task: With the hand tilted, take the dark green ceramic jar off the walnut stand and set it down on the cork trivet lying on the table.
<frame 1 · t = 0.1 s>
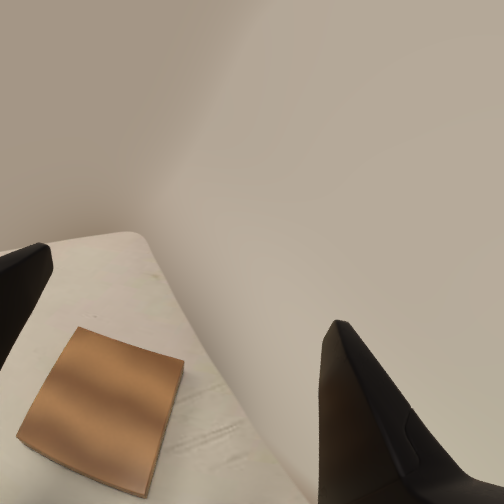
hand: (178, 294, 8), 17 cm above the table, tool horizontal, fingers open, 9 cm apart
trivet: (104, 409, 19), on the table
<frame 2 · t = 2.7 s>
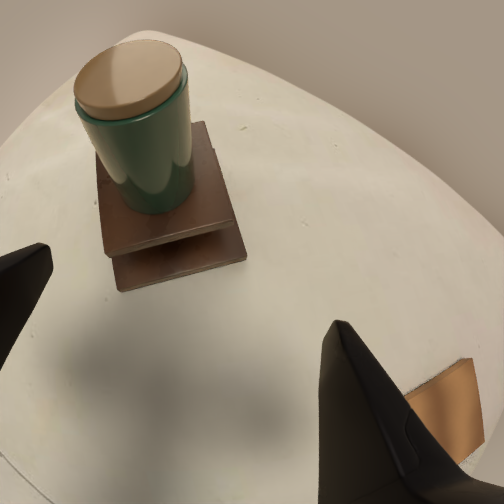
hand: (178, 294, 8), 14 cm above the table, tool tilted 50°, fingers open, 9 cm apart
jar: (156, 178, 18), point 6 cm above the table, touching stand
trivet: (428, 432, 21), on the table
stand: (168, 217, 24), on the table
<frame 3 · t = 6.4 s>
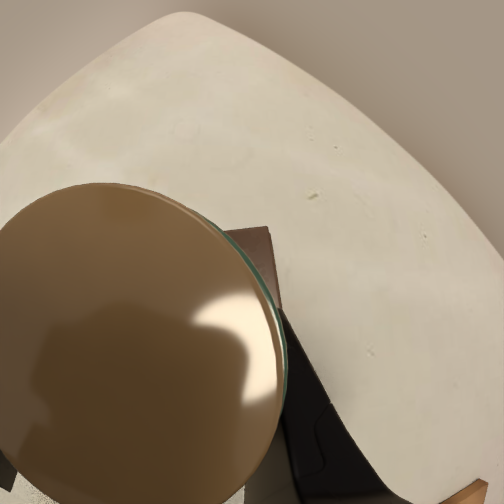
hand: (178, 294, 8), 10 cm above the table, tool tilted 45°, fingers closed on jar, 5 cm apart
jar: (182, 335, 12), point 6 cm above the table, touching gripper, stand
stand: (196, 329, 18), on the table
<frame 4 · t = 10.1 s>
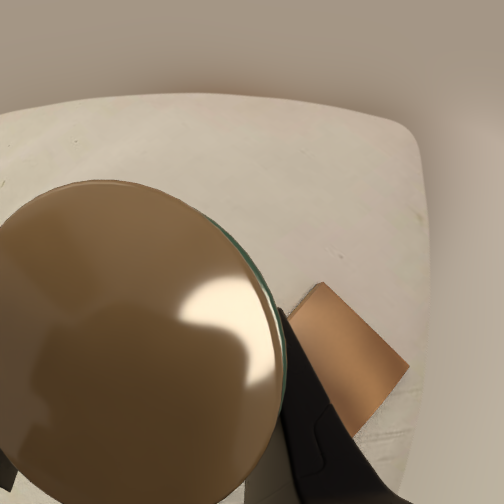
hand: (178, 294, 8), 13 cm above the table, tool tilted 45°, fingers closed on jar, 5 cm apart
jar: (182, 334, 12), point 10 cm above the table, touching gripper
trivet: (311, 387, 21), on the table
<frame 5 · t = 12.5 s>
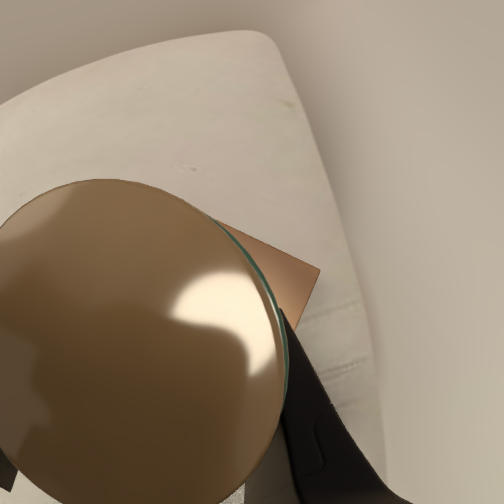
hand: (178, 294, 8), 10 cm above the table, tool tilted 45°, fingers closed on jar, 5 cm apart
jar: (182, 333, 12), point 6 cm above the table, touching gripper
trivet: (197, 327, 18), on the table
when the fingers open (5 cm above the table, at t = 14.3 s): jar stays where it is, resting on trivet.
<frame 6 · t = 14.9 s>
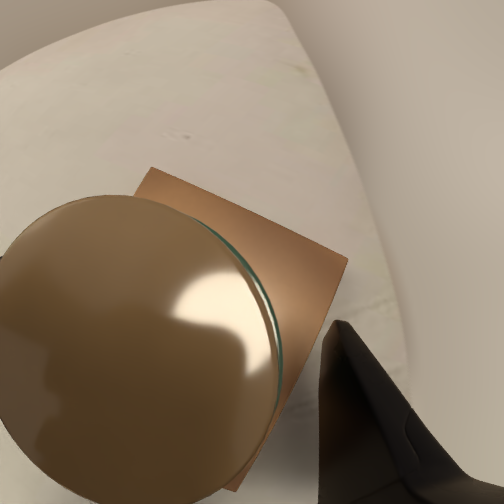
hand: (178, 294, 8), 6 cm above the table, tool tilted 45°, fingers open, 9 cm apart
jar: (184, 334, 12), point 1 cm above the table, touching trivet
trivet: (189, 334, 14), on the table
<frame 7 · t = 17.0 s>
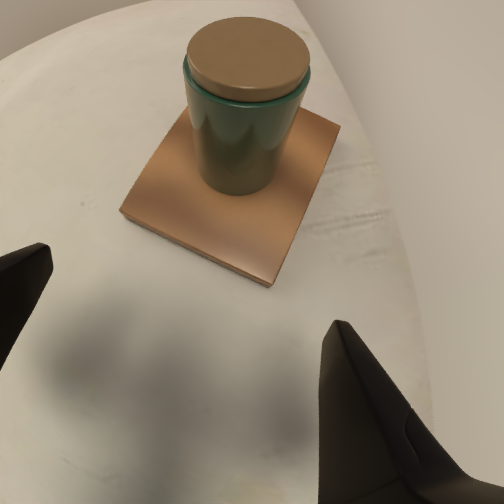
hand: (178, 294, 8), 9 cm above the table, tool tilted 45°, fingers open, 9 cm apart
jar: (237, 158, 18), point 1 cm above the table, touching trivet
trivet: (236, 170, 20), on the table
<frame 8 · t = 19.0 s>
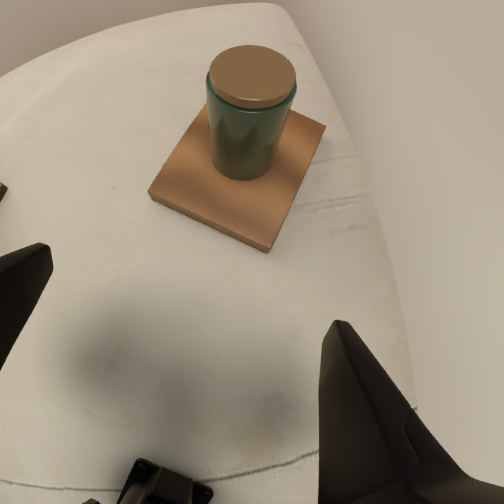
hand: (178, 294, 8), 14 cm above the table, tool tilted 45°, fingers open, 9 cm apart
jar: (242, 152, 23), point 1 cm above the table, touching trivet
trivet: (241, 161, 24), on the table
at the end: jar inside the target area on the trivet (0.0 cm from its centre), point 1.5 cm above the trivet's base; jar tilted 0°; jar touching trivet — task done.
